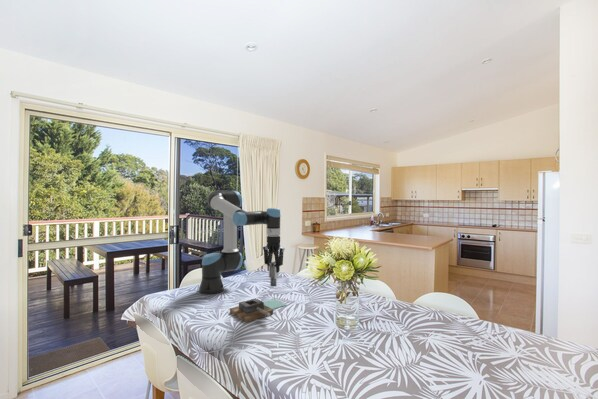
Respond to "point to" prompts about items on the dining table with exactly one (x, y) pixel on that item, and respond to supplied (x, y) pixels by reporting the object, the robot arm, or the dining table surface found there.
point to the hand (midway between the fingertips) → (273, 277)
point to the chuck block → (251, 310)
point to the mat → (274, 304)
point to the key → (272, 274)
